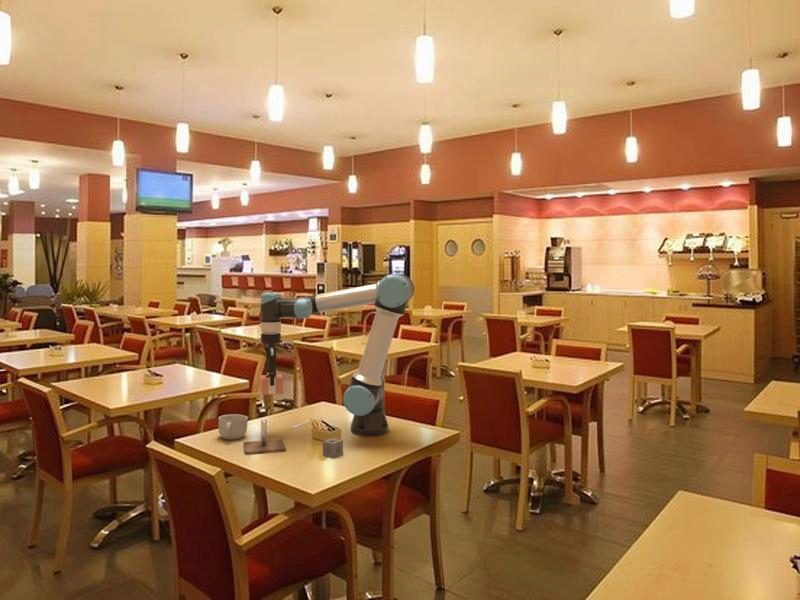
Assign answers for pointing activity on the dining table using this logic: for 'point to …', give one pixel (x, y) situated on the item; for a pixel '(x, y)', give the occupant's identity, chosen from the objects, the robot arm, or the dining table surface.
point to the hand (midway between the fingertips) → (271, 391)
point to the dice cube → (332, 448)
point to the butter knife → (300, 424)
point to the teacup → (232, 426)
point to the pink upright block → (265, 384)
